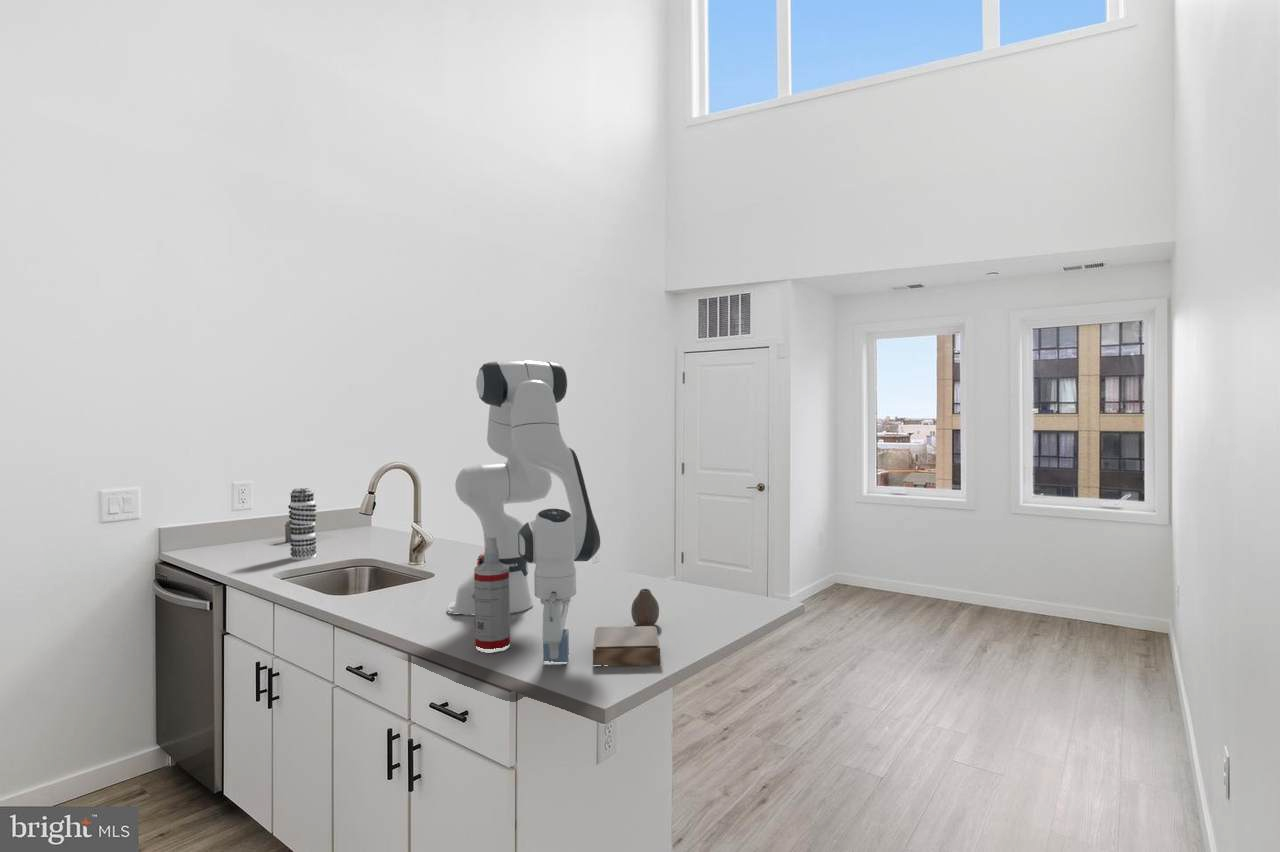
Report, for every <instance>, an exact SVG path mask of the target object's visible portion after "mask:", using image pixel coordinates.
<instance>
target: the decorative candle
mask: <svg viewBox="0 0 1280 852" xmlns="http://www.w3.org/2000/svg"><path fill="white" fill-rule="evenodd" d="M314 494H315V492H314V491H313V490H312V489H311V488H310V487H298V488H294V489H293V490H291V492H290V493H289V495H290V504H289V505H288V506H287V507H288V509H289V511H288V514H289V515H288V518H289V519H290V520H291V521H290V524H291V525H290V527H292V529H291V531H292V534H291V538H292V539H290V543H289V544H290V559H291V560H292V561H293V560H295V561H301V560H302V561H304V560H310V559H314V558H316V557H317V550H316V549H317V546H316V543H317V541H315V540H316V539H317V537H316V532H314V525H316V522H315V523H314V521H317V519H316V518H315V517H317V515H316V514H315V513H314V512H316V511H317V509H316V507H317V505H316V504H315V498H314Z"/></svg>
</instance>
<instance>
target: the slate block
mask: <svg viewBox="0 0 1280 852" xmlns="http://www.w3.org/2000/svg"><path fill="white" fill-rule="evenodd" d="M569 636H570V635H569V628H564V630H563V634H562V639H561V642H560V643H559V657H558V658H557V659H551V658H550V650H549V644H544V642H543V641H542V649H543V650H542V654H543V655H542V656H543V657H542V662H543V661H549V662H551V661H553V662H567V660H568V661H569V658H568V655H569V656H570V652H569V651H570V648H569V646H570V645H569V641H570V637H569Z"/></svg>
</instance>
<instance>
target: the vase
mask: <svg viewBox="0 0 1280 852" xmlns="http://www.w3.org/2000/svg"><path fill="white" fill-rule="evenodd" d="M630 611H631V612H630V614H631V618H632V621H633V622H634V624H635V625H636V626H655V625H656V623H657V622H658V619H659V616H660V606H659V603H658V600H657V599H656V598H655V596H654V595H653V594H652V591H651V590H650V589H649V588H641V589H640V590H639V592H638V594H637V595H636V596H635V598H634V599H633V601H632V604H631V608H630Z"/></svg>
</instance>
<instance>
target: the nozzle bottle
mask: <svg viewBox="0 0 1280 852" xmlns="http://www.w3.org/2000/svg"><path fill="white" fill-rule="evenodd" d="M483 554H484V563H483V564H481V565H479V566H475V567H474V571H473V573H474V587H475V616H474V630H475V631H474V637H475V638H474V639H475V640H474V641H475V644H474V646H477V647H480V648H483V649H494V648H495V649H496V648H503V647H505V646H508V645H509V644H510V645H511V614H510V593H509V565H506V564H503V563H500V562H499V551H498V549H497V539H496V537H492V538H486V549H485V548H484V553H483Z"/></svg>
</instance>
